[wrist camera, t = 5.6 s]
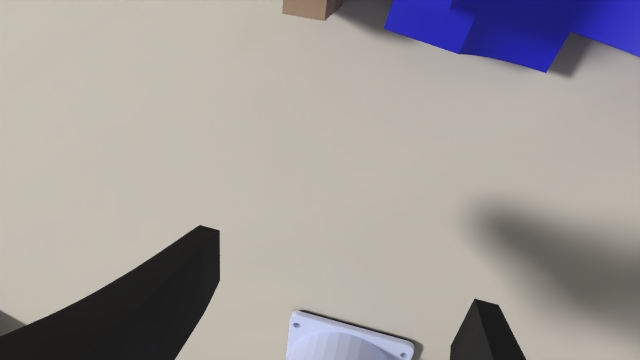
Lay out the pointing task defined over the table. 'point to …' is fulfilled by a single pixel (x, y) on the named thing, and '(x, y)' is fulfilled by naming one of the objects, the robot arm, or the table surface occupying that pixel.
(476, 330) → the robot arm
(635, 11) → the blue notched arch
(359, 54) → the table surface
